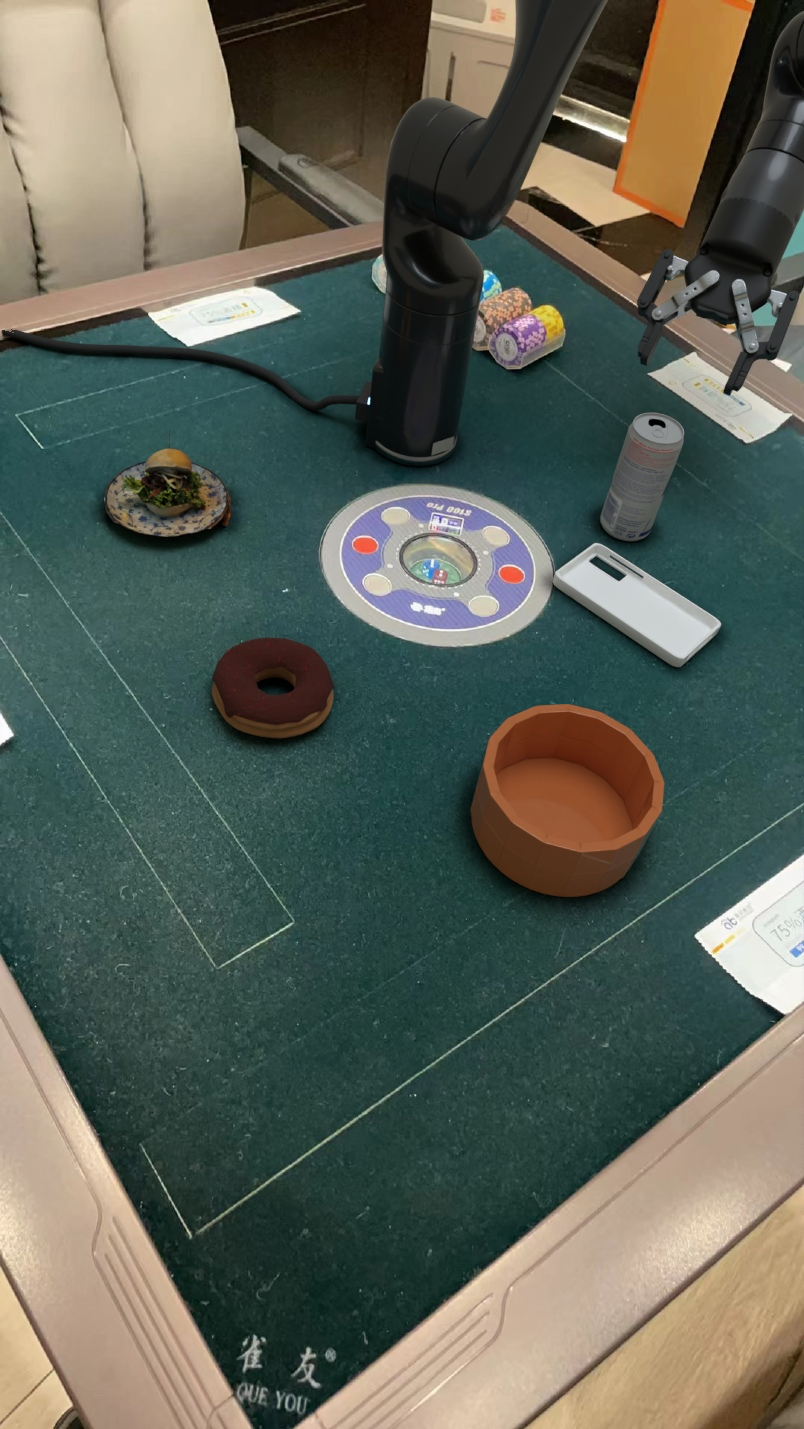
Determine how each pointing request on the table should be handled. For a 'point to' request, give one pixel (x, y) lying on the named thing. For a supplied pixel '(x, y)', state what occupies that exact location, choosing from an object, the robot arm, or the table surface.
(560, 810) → the bowl
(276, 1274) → the table surface
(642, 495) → the energy drink
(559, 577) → the phone case
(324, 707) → the donut
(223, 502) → the burger
